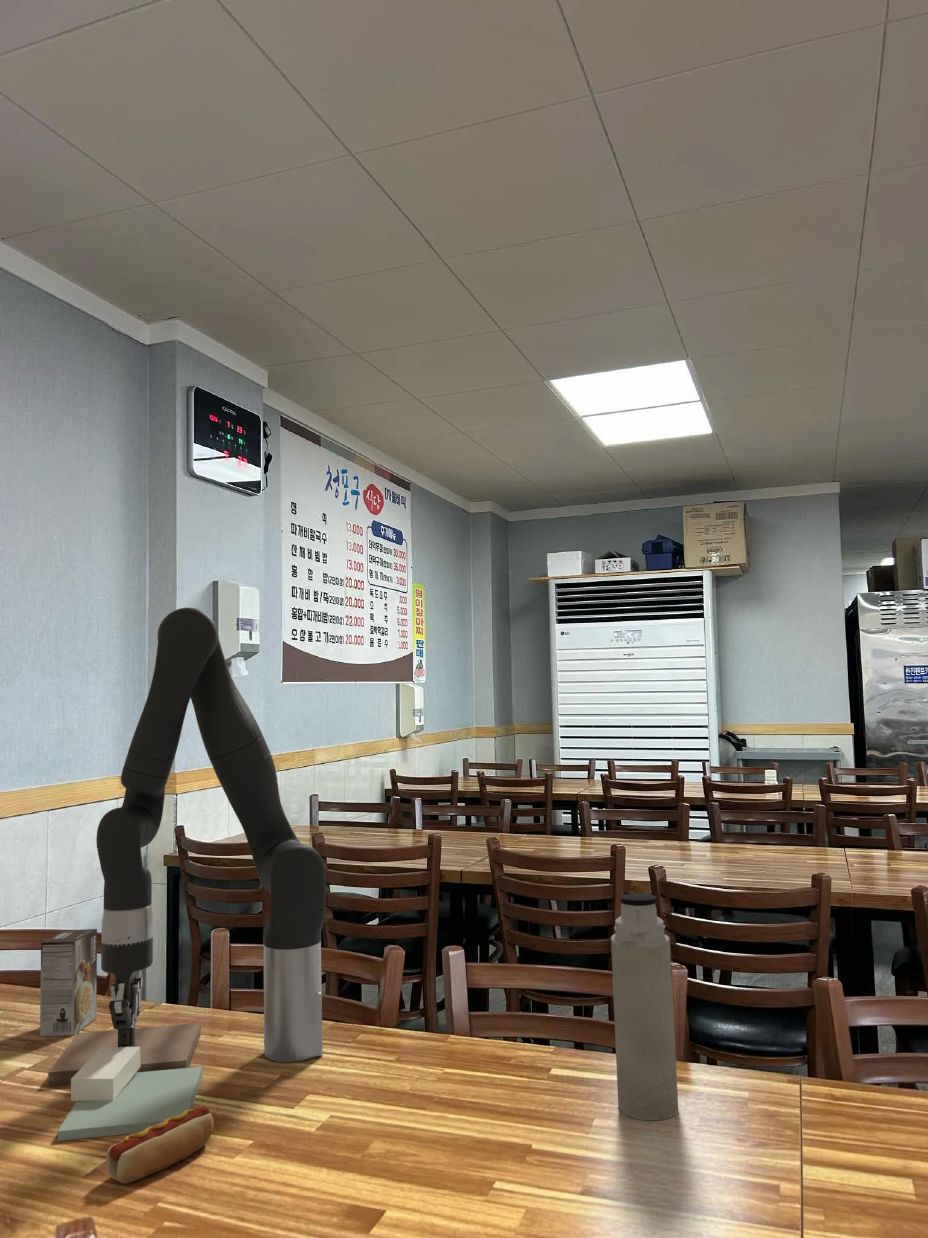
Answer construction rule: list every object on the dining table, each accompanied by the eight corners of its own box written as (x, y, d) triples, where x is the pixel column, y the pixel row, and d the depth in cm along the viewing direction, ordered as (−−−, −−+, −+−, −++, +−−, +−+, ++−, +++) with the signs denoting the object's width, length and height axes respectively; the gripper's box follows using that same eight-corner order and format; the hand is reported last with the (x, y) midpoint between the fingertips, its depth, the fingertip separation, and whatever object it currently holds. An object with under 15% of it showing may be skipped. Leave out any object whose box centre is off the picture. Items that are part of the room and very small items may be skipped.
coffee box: (63, 1019, 165) (64, 929, 166) (97, 1018, 164) (98, 928, 166) (38, 1037, 155) (40, 941, 157) (74, 1036, 155) (76, 940, 157)
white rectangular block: (140, 1067, 136) (140, 1047, 136) (113, 1100, 126) (113, 1078, 126) (101, 1067, 136) (101, 1047, 136) (71, 1101, 126) (70, 1079, 126)
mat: (202, 1075, 137) (202, 1066, 137) (185, 1128, 119) (185, 1118, 119) (92, 1085, 134) (92, 1076, 134) (57, 1141, 117) (58, 1131, 117)
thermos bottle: (626, 1091, 127) (617, 888, 129) (683, 1100, 123) (672, 891, 126) (611, 1115, 119) (601, 899, 122) (671, 1125, 116) (660, 903, 119)
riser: (200, 1035, 154) (200, 1023, 154) (186, 1074, 137) (186, 1060, 138) (77, 1045, 151) (77, 1033, 151) (47, 1086, 134) (48, 1072, 134)
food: (124, 1196, 103) (125, 1150, 103) (97, 1183, 106) (97, 1138, 107) (222, 1147, 114) (222, 1105, 115) (194, 1136, 117) (194, 1096, 118)
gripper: (144, 945, 133) (143, 1067, 131) (160, 925, 146) (159, 1035, 144) (91, 949, 132) (89, 1072, 130) (112, 928, 145) (110, 1039, 143)
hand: (126, 1052), depth 137 cm, fingers closed
